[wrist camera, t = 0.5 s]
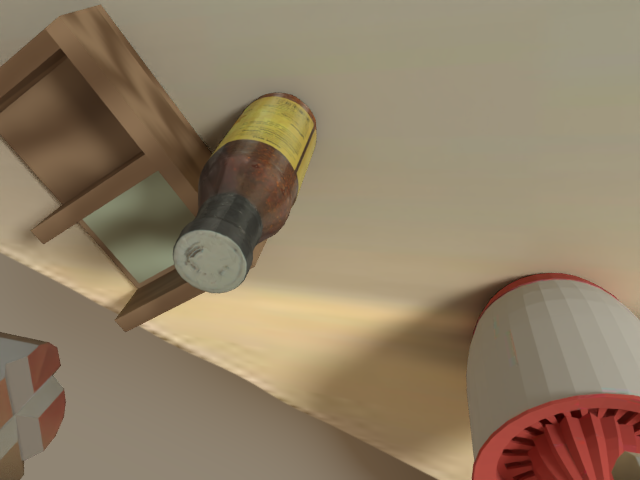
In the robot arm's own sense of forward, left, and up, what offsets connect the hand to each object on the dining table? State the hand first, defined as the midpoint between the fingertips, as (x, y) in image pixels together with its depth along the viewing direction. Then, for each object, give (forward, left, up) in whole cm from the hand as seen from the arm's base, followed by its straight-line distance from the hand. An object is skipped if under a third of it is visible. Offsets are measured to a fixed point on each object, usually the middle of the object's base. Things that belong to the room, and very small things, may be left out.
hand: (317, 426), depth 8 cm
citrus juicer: (+30, -1, -38) cm, 49 cm away
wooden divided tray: (-2, -26, -38) cm, 46 cm away
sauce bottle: (+2, -12, -38) cm, 40 cm away
